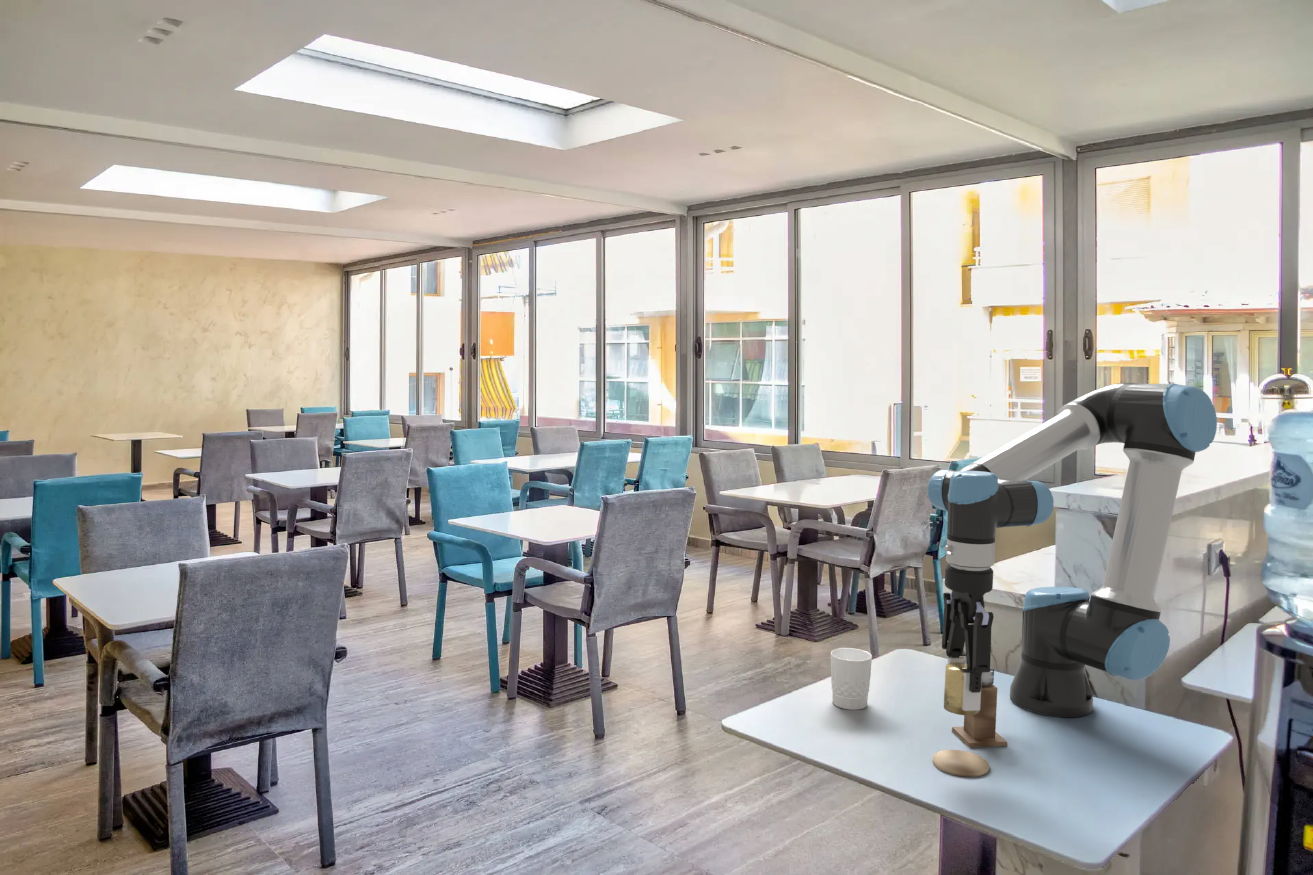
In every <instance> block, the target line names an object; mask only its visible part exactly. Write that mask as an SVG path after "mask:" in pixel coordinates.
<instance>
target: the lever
mask: <svg viewBox="0 0 1313 875" xmlns="http://www.w3.org/2000/svg"><path fill="white" fill-rule="evenodd" d="M994 676H995V668H993V667H992V666H990V672H983V673H982V682H981V685H985V686H987V685H992V684H993V685H994V680H995V679H994Z"/></svg>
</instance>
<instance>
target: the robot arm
mask: <svg viewBox="0 0 1313 875" xmlns="http://www.w3.org/2000/svg"><path fill="white" fill-rule="evenodd" d="M1217 417H1218V416H1217V413H1216V408H1215V406H1214V404H1213V401H1212V399H1211V398H1210V396H1209V395H1208V394H1207V392H1205V391H1204V390H1203V389H1201V388H1199V387H1196V386H1193V385H1192V386H1191V385H1184V384H1177V383H1138V382H1137V383H1135V382H1119V383H1113V384H1109V385H1106V386H1104V387H1103V386H1102V387H1100V388H1097V389H1095V390H1093V391H1089V392H1087V393H1085V394H1083V395H1081V396H1079V397H1077V398H1075V399H1073V400H1071V401H1069V402H1067V403H1066V404H1064V405H1062V406H1061V407H1059V409H1058V410H1057V412H1056V415H1055V416H1053V417H1051V418H1050V419H1048V420H1047V421H1045V422H1043V423H1041V424H1040V425H1038V426H1036V427H1034V428H1032V429H1030V430H1028V431H1027V432H1025V433H1023V434H1021V435H1020V436H1018V437H1016V438H1014V439H1012V440H1011V441H1009V442H1007V443H1005V444H1003V445H1001V447H998V448H997V449H995V450H993V451H991V452H990V453H988V454H985V455H984V456H982V457H980V458H979V459H977V460H975V461H973V462H972V463H970V464H968V465H967V466H964V467H961V469H958V470H954V469H941V470H937V471H936V472H935V473H934V474H933V475H931V477H930V478H929V481H928V483H927V489H926V492H927V493H926V494H927V498H928V500H929V502H930V504H931V505H932V506H933V507H934V508H936V509H938V510H942V511H945V512H946V513H947V528H946V530H947V532H946V545H945V546H944V548H943V549H944V551H945V552H946V553H945V555H946V556H945V561H946V562H947V563H948V564H946V565H945V569H944V570H945V571H944V586H945V587H946V588H947V589H948V590H950V591H951V592H943V595H942V596H943V597H942V598H943V605H944V606H943V621H942V634H941V648H942V650H945V654H946V656H947V664H949V663H967V669H963V672H964V682H963V703H962V709H963V710H964V711H973V710H980V702H981V682H982V673H983V672H990V667H991V653H992V651H991V650H992V649H991V648H992V626H993V621H994V613H993V612H992V611H986V609H985V607H986V606H985V601H984V600H985V599H984V595H985V594H987V593H990V592H991V591H993V588H994V587H993V586H994V570H993V568H992V567H993V566H995V552H996V551H995V550H996V531H997V530H996V529H1000V528H1011V527H1025V526H1026V527H1031V526H1034V525H1039V524H1043V523H1045V522H1046V521H1047V520H1048V519H1049V518H1050V517H1051V516H1052V513H1053V510H1054V500H1055V499H1054V496H1053V493H1052V491H1051V490H1050V488H1049V487H1048V486H1047V485H1046V484H1044V483H1043V482H1041V481H1038V480H1029V479H1030V478H1031V477H1033V476H1035V475H1037V474H1038V473H1040V472H1042V471H1044V470H1045V469H1047V468H1049V467H1051V466H1053V465H1054V464H1055V463H1058V462H1059V461H1061V460H1063V459H1065V458H1066V457H1068V456H1070V455H1071V454H1073V453H1075V452H1076V451H1078V450H1086V451H1087V450H1090V449H1093V448H1094V447H1096V446H1097V445H1101V444H1109V443H1120V444H1124V445H1123V448H1122V451H1123V453H1124V454H1125V455H1126V457H1127V458H1128V460H1129V462H1128V463H1129V464H1128V468H1127V473H1126V478H1125V482H1124V487H1123V491H1122V495H1121V501H1120V505H1119V509H1118V512H1117V514H1118V515H1117V518H1116V523H1115V528H1114V532H1113V537H1112V541H1111V546H1110V549H1109V550H1110V551H1109V556H1108V560H1107V563H1106V569H1105V573H1104V577H1103V583H1102V586H1101V587H1100V588H1098V589H1096V590H1095V591H1092V592H1091V595H1090V593H1089V591H1088V590H1086V589H1085V588H1084V589H1083V588H1080V587H1072V586H1071V587H1070V586H1043V587H1042V586H1041V587H1035V588H1031V589H1030V590H1028V591H1027V592H1026V593H1025V596H1024V599H1023V600H1024V601H1023V608H1022V620H1021V621H1022V624H1021V627H1022V628H1021V655H1020V662H1019V665H1018V666H1017V670H1016V672H1015V674H1014V677H1013V679H1012V681H1011V684H1010V687H1009V699H1010V701H1011V702H1012V703H1013V704H1014V705H1016V706H1017V707H1019V708H1021V709H1023V710H1026V711H1029V712H1033V713H1035V714H1040V715H1043V716H1049V717H1057V718H1079V717H1084V716H1088V715H1089V714H1091V713H1092V711H1094V710H1093V708H1094V697H1093V693H1092V689H1091V686H1090V683H1089V679H1088V675H1087V672H1086V666H1088V667H1091V668H1093V669H1096V670H1099V671H1102V672H1105V673H1108V674H1109V675H1110V676H1113V677H1120V678H1122V679H1126V680H1129V681H1141V680H1144V679H1147V678H1148V677H1150V676H1152V675H1153V674H1154V673H1155V672H1157V670H1159V668H1160V667H1161V666H1162V664H1164V661H1165V659H1166V658H1167V655H1168V652H1169V648H1170V645H1171V644H1170V643H1171V637H1170V635H1169V633H1170V632H1169V629H1168V627H1167V626H1166V625H1165V624H1164V623H1163V622H1162V621H1161V620H1160V617H1161V612H1162V609H1161V608H1160V606H1159V605H1158V603H1156V601H1155V595H1156V590H1157V585H1158V582H1159V577H1160V571H1161V568H1162V562H1163V560H1164V559H1163V558H1164V553H1165V548H1166V544H1167V540H1168V535H1169V530H1170V526H1171V521H1172V517H1173V513H1174V508H1175V502H1176V498H1177V494H1178V489H1179V485H1180V480H1181V475H1182V472H1183V470H1185V469H1186V468H1187V467H1190V466H1191V465H1192V464H1194V461H1195V456H1196V453H1198V452H1203V451H1204V450H1207V449H1208V448H1209V447H1210V444H1212V443H1213V442H1214V439H1215V436H1216V434H1217V426H1218V419H1217ZM964 648H965V651H964ZM965 658H966V659H965Z"/></svg>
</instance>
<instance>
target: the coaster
mask: <svg viewBox="0 0 1313 875" xmlns="http://www.w3.org/2000/svg"><path fill="white" fill-rule="evenodd" d="M932 764H933V765H934V766H935V767H936V769H938V770H940V771H942V772H944V773H946V774H949V775H953V776H957V777H964V778H975V777H982V776H984V775H986V774H988V772H989V770H990V762H989V761H988V760H987V759H986V758H984V757H982V756H981V755H979V754H976V753H973V752H971V751H966V750H960V749H944V750H940V751H936V752H935V753H934V754H933V755H932Z"/></svg>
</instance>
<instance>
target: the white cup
mask: <svg viewBox="0 0 1313 875" xmlns="http://www.w3.org/2000/svg"><path fill="white" fill-rule="evenodd" d="M872 660H873V655H872V654H871V653H870V652H869V651H866V650H864V649H859V648H854V647H839V648H835V649H833V650H831V651H830V665H831V666H830V674H831V675H830V676H831V677H830V678H831V680H830V682H831V691H832V704H833V705H834V706H836V707H838V708H840V709H844V710H848V711H849V710H850V711H851V710H852V711H857V710H862V709H865V708H867V706H868V700H869V692H870V685H871V684H870V683H871V682H870V681H871V676H872V673H871V672H872V663H873V662H872Z"/></svg>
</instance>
